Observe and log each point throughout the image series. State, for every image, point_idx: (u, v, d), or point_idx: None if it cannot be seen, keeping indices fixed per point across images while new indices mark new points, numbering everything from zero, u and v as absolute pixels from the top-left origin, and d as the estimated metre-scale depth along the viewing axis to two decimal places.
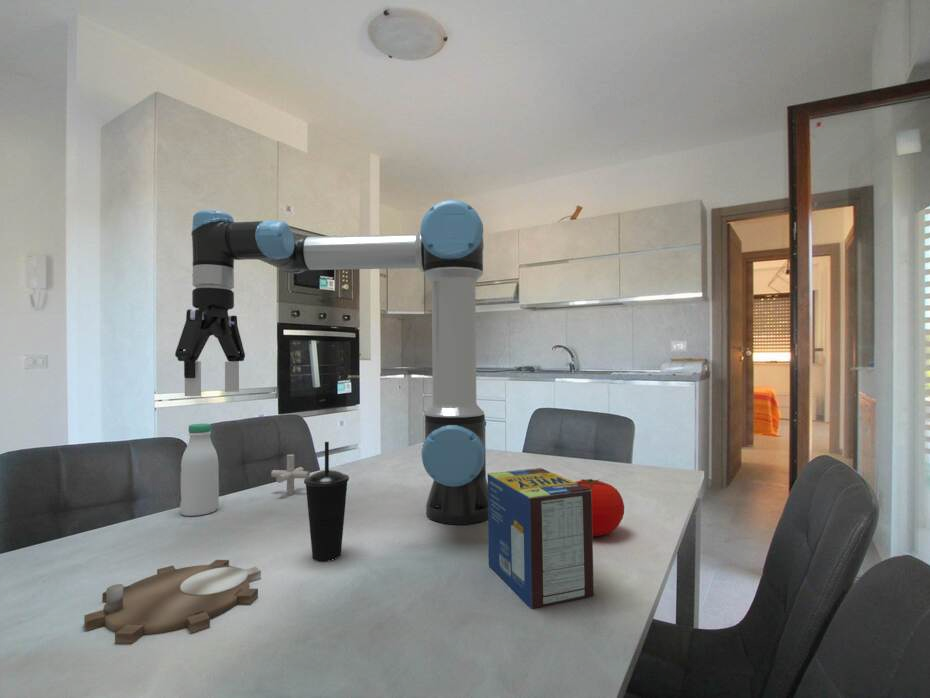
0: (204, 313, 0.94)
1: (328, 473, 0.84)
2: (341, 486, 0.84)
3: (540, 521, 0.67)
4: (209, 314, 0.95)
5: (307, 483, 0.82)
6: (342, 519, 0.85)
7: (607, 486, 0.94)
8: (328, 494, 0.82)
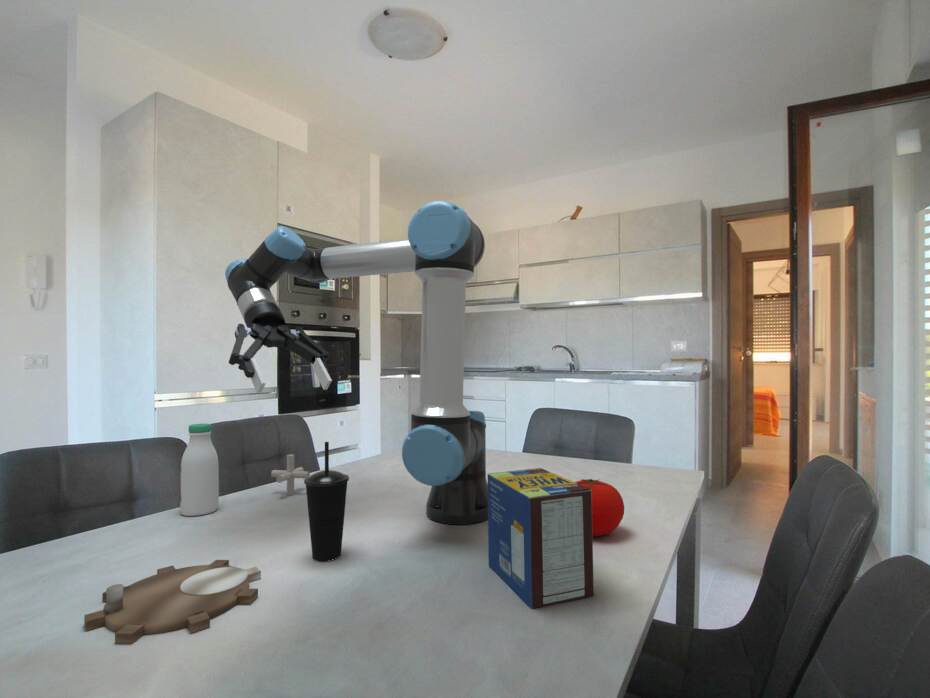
0: (251, 328, 0.97)
1: (328, 473, 0.84)
2: (341, 486, 0.84)
3: (540, 521, 0.67)
4: (256, 327, 0.98)
5: (307, 483, 0.82)
6: (342, 519, 0.85)
7: (607, 486, 0.94)
8: (328, 494, 0.82)
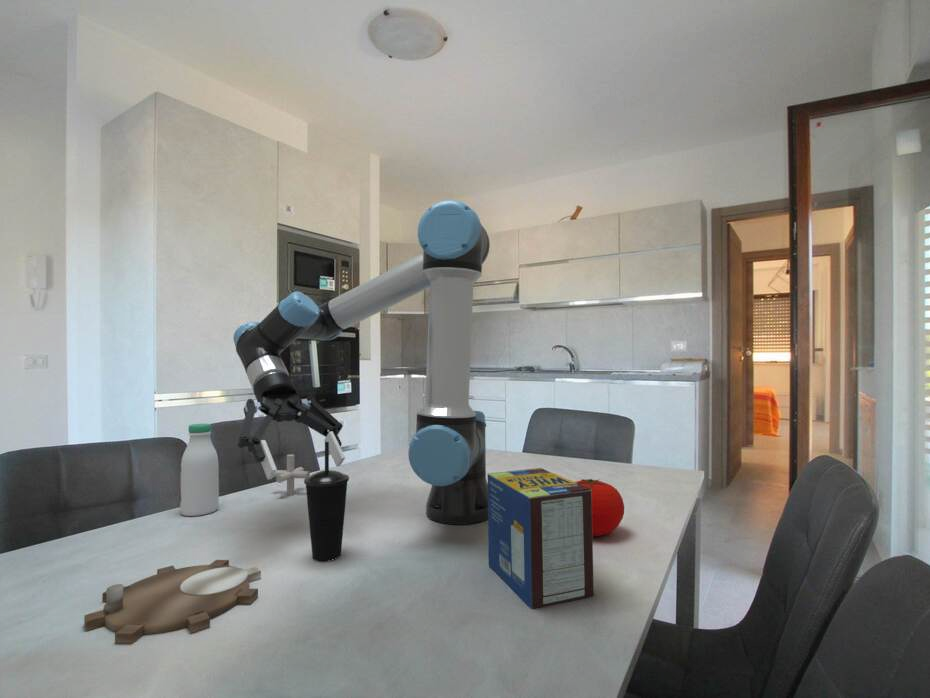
0: (260, 402, 0.93)
1: (328, 473, 0.84)
2: (341, 486, 0.84)
3: (540, 521, 0.67)
4: (266, 401, 0.93)
5: (307, 483, 0.82)
6: (342, 519, 0.85)
7: (607, 486, 0.94)
8: (328, 494, 0.82)
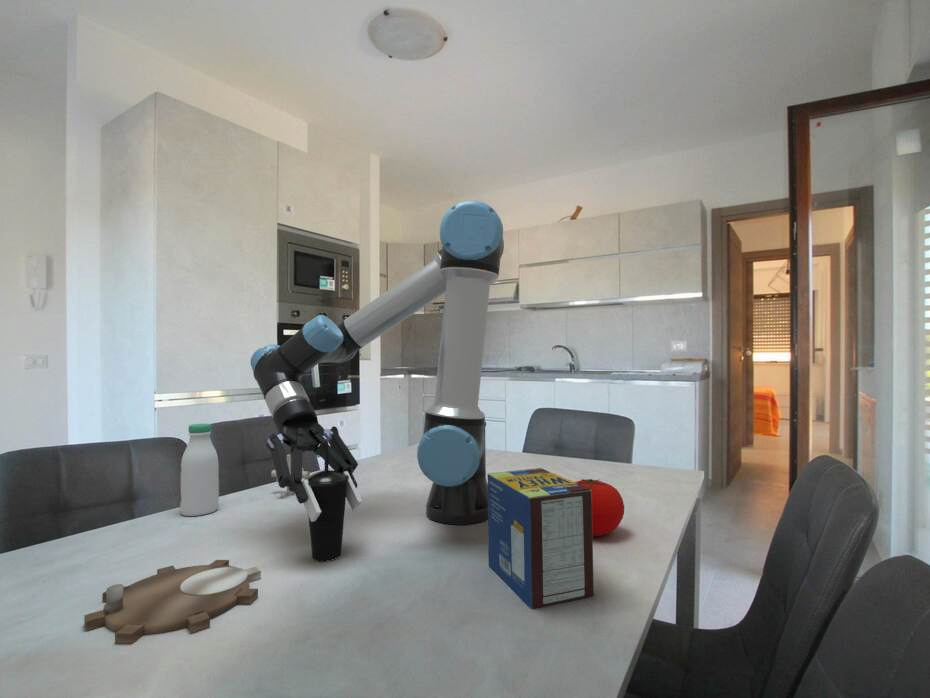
0: (282, 433, 0.88)
1: (328, 473, 0.84)
2: (341, 486, 0.84)
3: (540, 521, 0.67)
4: (287, 431, 0.88)
5: None
6: (342, 519, 0.85)
7: (607, 486, 0.94)
8: (328, 494, 0.82)
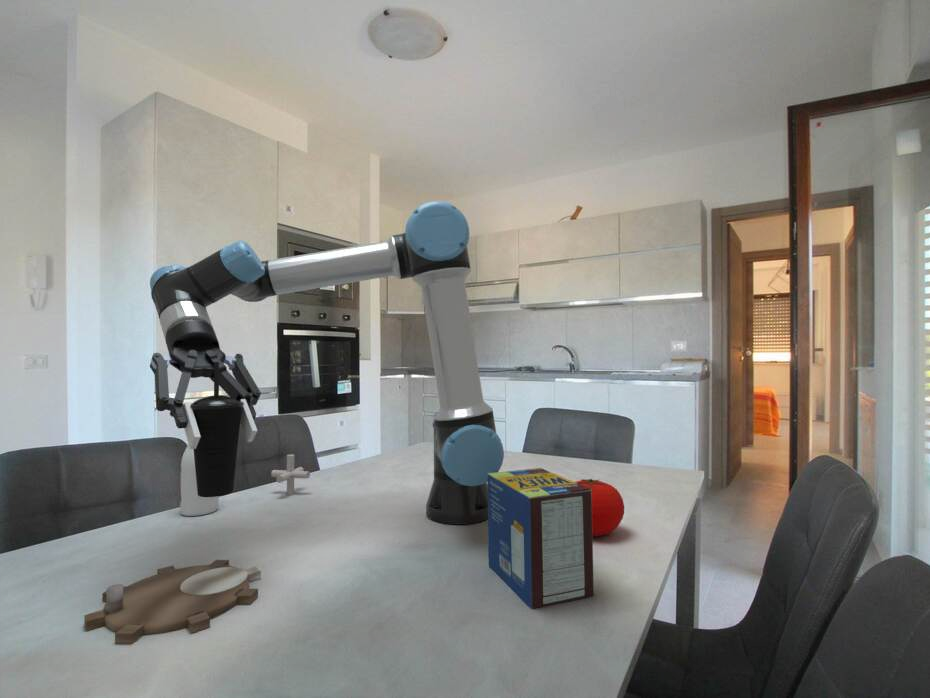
0: (170, 355, 0.77)
1: (216, 397, 0.73)
2: (231, 412, 0.72)
3: (540, 521, 0.67)
4: (177, 352, 0.77)
5: None
6: (233, 450, 0.73)
7: (607, 486, 0.94)
8: (213, 418, 0.71)
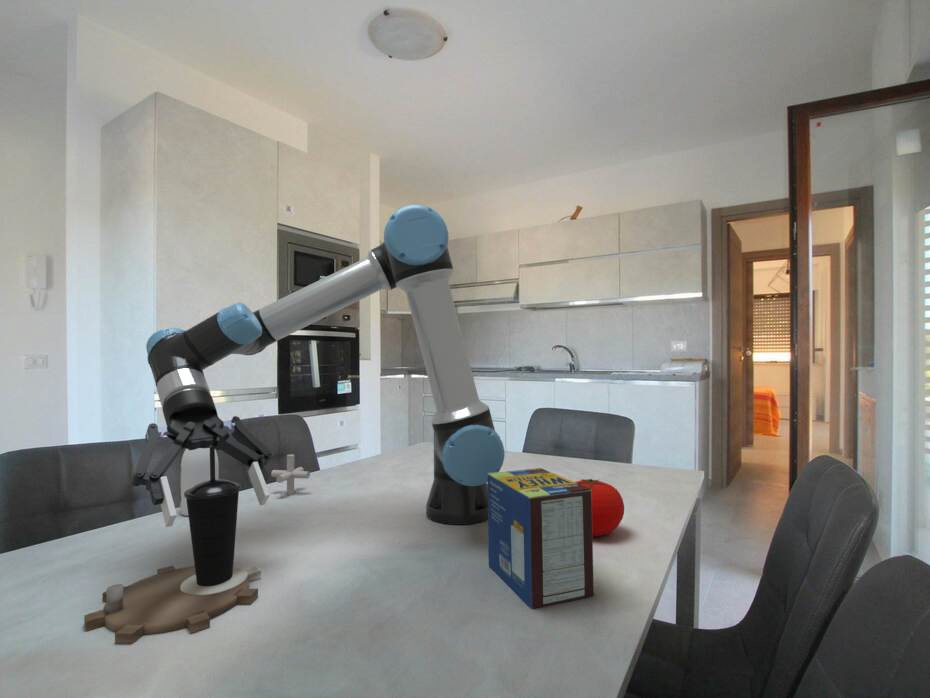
0: (167, 426, 0.76)
1: (213, 483, 0.72)
2: (228, 498, 0.72)
3: (540, 521, 0.67)
4: (174, 424, 0.77)
5: (185, 496, 0.70)
6: (231, 536, 0.73)
7: (607, 486, 0.94)
8: (210, 508, 0.70)
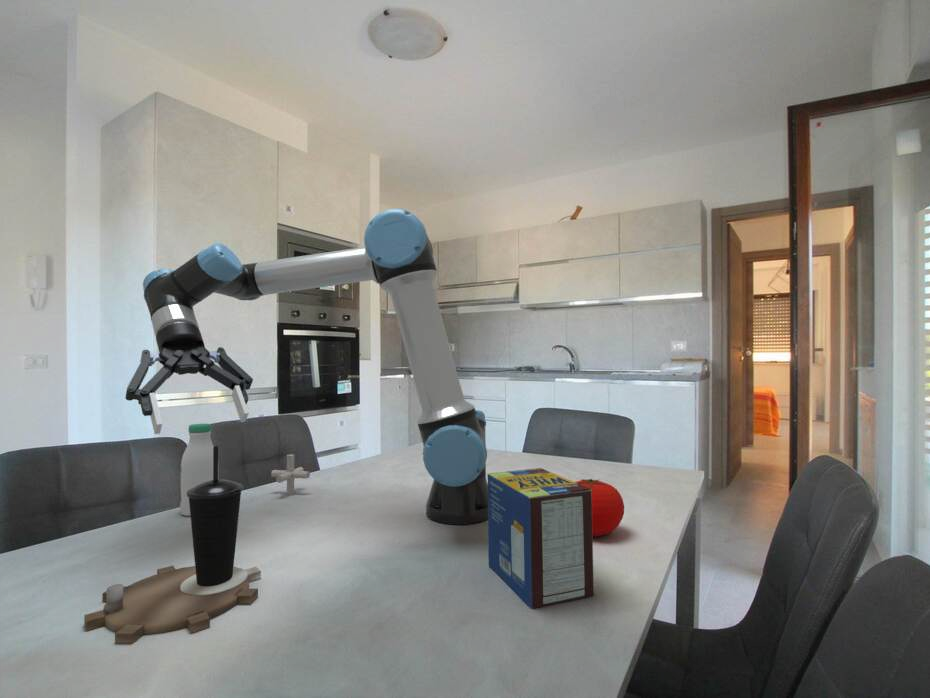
0: (159, 353, 0.87)
1: (215, 483, 0.72)
2: (230, 499, 0.72)
3: (540, 521, 0.67)
4: (165, 352, 0.88)
5: (188, 495, 0.70)
6: (232, 536, 0.73)
7: (607, 486, 0.94)
8: (212, 508, 0.70)
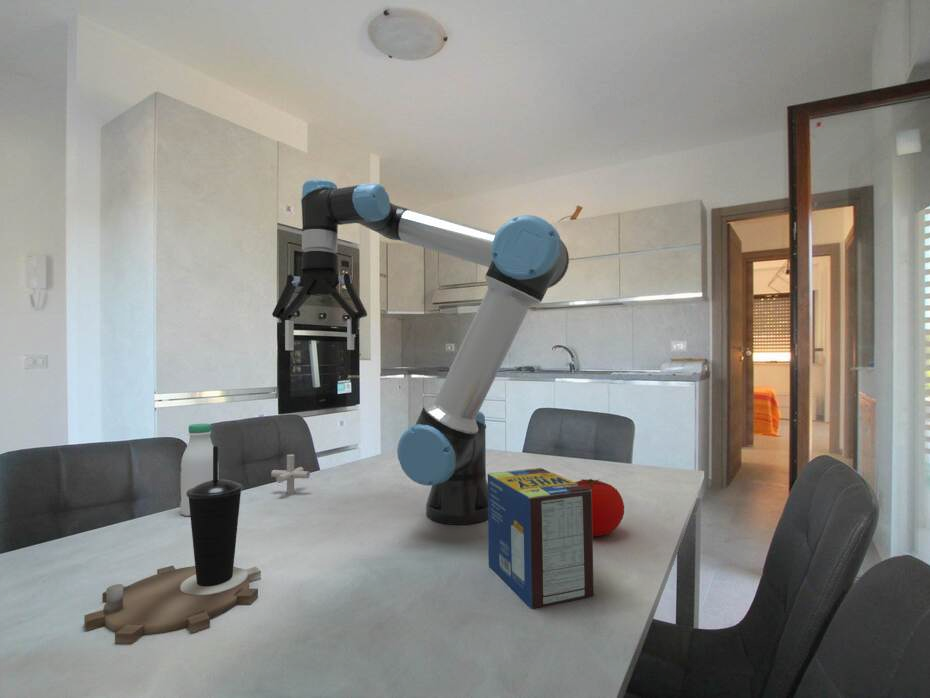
0: (300, 277, 1.05)
1: (215, 483, 0.72)
2: (230, 499, 0.72)
3: (540, 521, 0.67)
4: (303, 277, 1.05)
5: (188, 495, 0.70)
6: (232, 536, 0.73)
7: (607, 486, 0.94)
8: (212, 507, 0.70)
